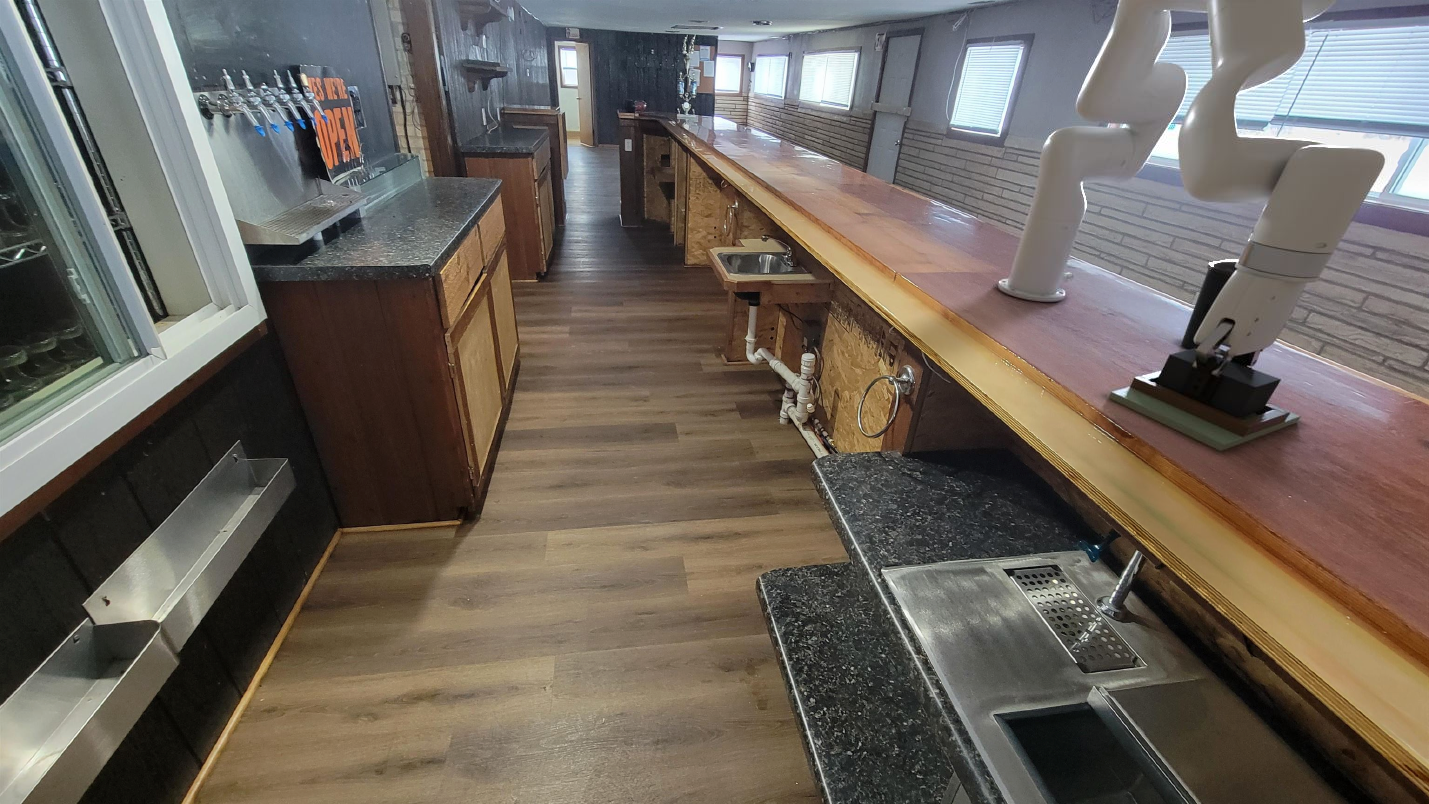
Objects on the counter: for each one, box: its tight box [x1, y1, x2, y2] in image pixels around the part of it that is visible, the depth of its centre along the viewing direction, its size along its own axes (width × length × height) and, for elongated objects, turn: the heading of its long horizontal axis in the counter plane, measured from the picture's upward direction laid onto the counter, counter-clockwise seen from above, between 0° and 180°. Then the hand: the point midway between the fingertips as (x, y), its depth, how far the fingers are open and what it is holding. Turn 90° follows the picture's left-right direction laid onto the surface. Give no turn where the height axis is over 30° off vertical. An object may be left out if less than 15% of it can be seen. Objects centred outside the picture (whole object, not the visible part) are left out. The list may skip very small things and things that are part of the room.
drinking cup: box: [1180, 259, 1238, 350], centre depth 91 cm, size 8×8×20 cm
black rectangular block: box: [1156, 348, 1282, 418], centre depth 74 cm, size 10×6×4 cm, turn 25°
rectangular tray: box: [1108, 370, 1302, 452], centre depth 76 cm, size 18×14×2 cm
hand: (1208, 392), depth 75 cm, fingers closed on black rectangular block, 6 cm apart
